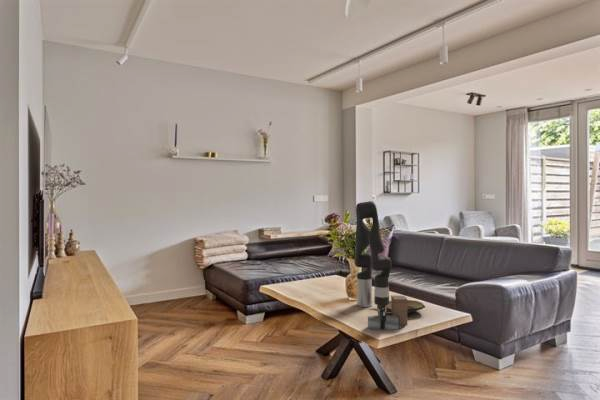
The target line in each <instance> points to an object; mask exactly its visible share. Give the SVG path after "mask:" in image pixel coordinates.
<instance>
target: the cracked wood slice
mask: <svg viewBox="0 0 600 400" xmlns="http://www.w3.org/2000/svg"><path fill="white" fill-rule="evenodd" d="M385 308H386V309H388V310H389V311H391V300H389V304H388V305H385ZM425 308H426V306H425V305H424V303H423V302H421V301H418V300H412V299H407V314H411V313H414V312H417V311H421V310H423V309H425Z"/></svg>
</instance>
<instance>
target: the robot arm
mask: <svg viewBox="0 0 600 400" xmlns="http://www.w3.org/2000/svg"><path fill="white" fill-rule="evenodd" d="M355 219H356V222H355V223H356V225H355V251H354V261H353V262H354V265H355V267H356V268H365V269H364V270H361V271H360V272H357V274H356V306H357V307H359V308H370V307H372V306H373V302H374V304H375V305H376V307H377V309H376V310H377V316H379V317H380V328H381V329H380V330H386V329H385V322H386V315H387V308H386V307H385V305H388V304H389V301H390V288H389V278H390V274H391V271H392V267H393V266H392V265H393V264H392V263H393V262H392V259H391V257H388V256H379V255H380V254H382V253H383V252H385V247H384V242H383V240H382V236H381V228H380V221H379V214H378V209H377V205H376V203H375V201H372V200H370V201H363V202H358V203H356V207H355ZM366 219H372V220H371V221H372V225H371V228H370V227H369V226H368V225H367V224H366V223H365V222H364V221H363V220H366ZM368 247H370V252H363V251H364V250H366V249H367V248H368ZM372 271H377V272H379V271H381V272H380V273H379V274H376V275H375V276H374V292H373V286H372V285H373V284H372V283H373V281H372V279H373V278H372V277H373V276H372V275H373V274H372ZM373 295H374V298H373ZM373 299H374V301H373ZM383 318H384V319H383Z"/></svg>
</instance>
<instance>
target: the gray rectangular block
mask: <svg viewBox="0 0 600 400" xmlns="http://www.w3.org/2000/svg"><path fill="white" fill-rule="evenodd" d="M383 319H384V318H383ZM367 328H368V330H382V329H381V328H380V317H379V316H378V315H367ZM400 329H401V325H400V317H399V316H398V315H396V316H386V322H385V329H384V330H400Z"/></svg>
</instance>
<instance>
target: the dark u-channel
mask: <svg viewBox="0 0 600 400" xmlns="http://www.w3.org/2000/svg"><path fill="white" fill-rule="evenodd" d="M407 300H408V298H407V297H406V296H405V295H391V296H390V301H391V310H390V312H387V311H386V312H387V315H386V316H396V315H398V316H399V317H400V326H408V313H407Z"/></svg>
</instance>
